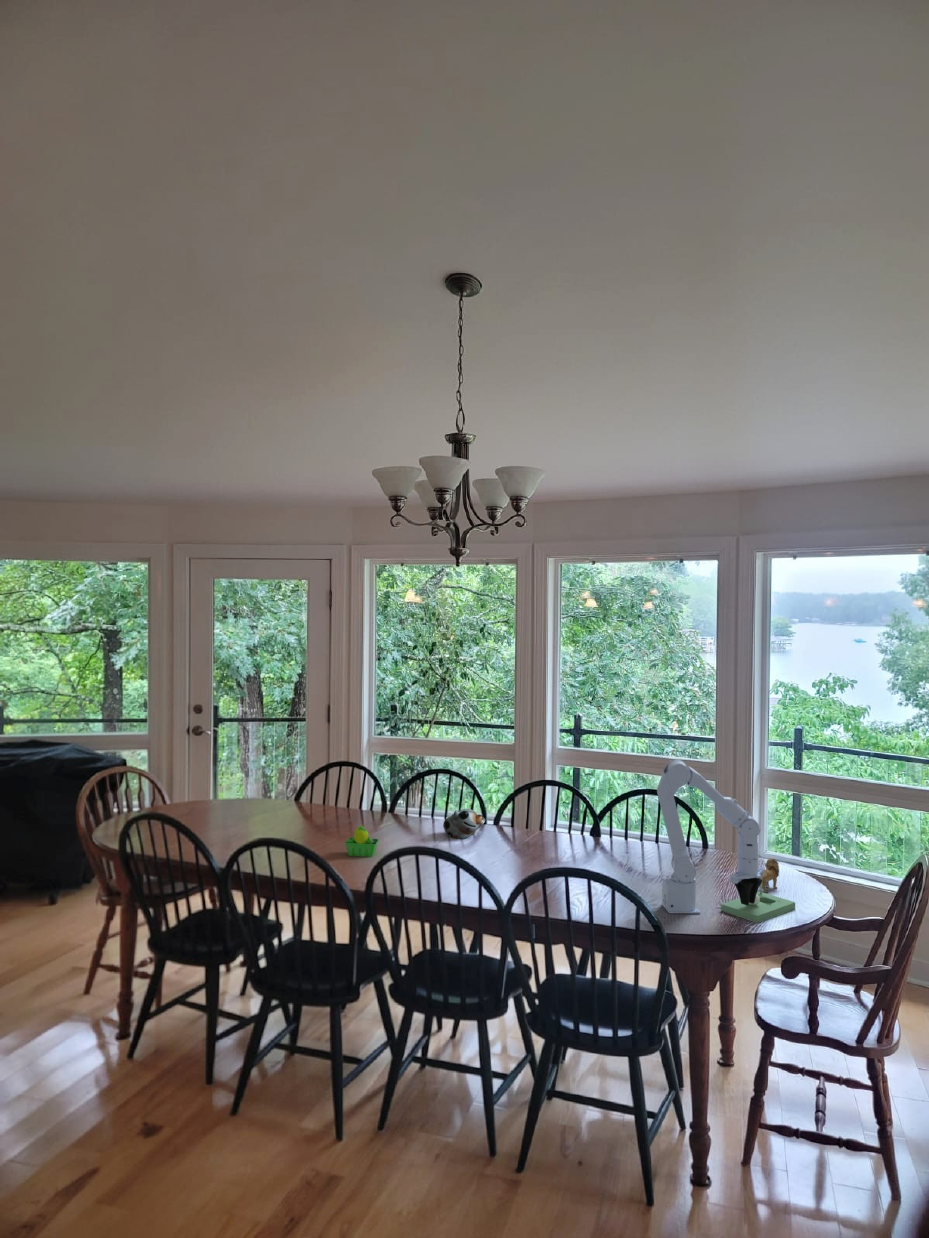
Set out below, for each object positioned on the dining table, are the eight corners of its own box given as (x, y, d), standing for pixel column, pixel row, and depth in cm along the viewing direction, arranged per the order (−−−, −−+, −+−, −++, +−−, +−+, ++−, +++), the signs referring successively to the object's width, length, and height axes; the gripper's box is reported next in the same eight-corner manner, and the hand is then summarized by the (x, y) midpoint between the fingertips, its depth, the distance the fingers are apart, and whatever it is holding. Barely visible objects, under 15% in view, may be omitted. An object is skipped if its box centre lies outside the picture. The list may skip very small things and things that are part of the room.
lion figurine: (766, 882, 259) (766, 855, 259) (782, 886, 255) (782, 858, 255) (748, 892, 248) (748, 864, 248) (764, 896, 244) (765, 868, 244)
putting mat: (757, 922, 222) (757, 891, 222) (721, 910, 231) (721, 880, 231) (798, 907, 234) (798, 877, 235) (762, 896, 244) (762, 868, 244)
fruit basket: (379, 852, 289) (379, 821, 289) (374, 859, 280) (374, 827, 280) (349, 851, 290) (349, 820, 290) (343, 857, 281) (343, 826, 281)
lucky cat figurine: (474, 830, 323) (486, 803, 318) (477, 848, 312) (489, 821, 307) (440, 821, 320) (452, 794, 315) (442, 839, 309) (454, 812, 304)
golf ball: (749, 905, 229) (751, 893, 229) (744, 902, 232) (746, 890, 233) (760, 907, 229) (762, 895, 229) (755, 904, 232) (757, 892, 233)
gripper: (745, 864, 222) (745, 912, 221) (773, 856, 230) (774, 902, 230) (724, 858, 227) (724, 905, 227) (752, 850, 236) (752, 895, 236)
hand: (747, 903), depth 229 cm, fingers closed
